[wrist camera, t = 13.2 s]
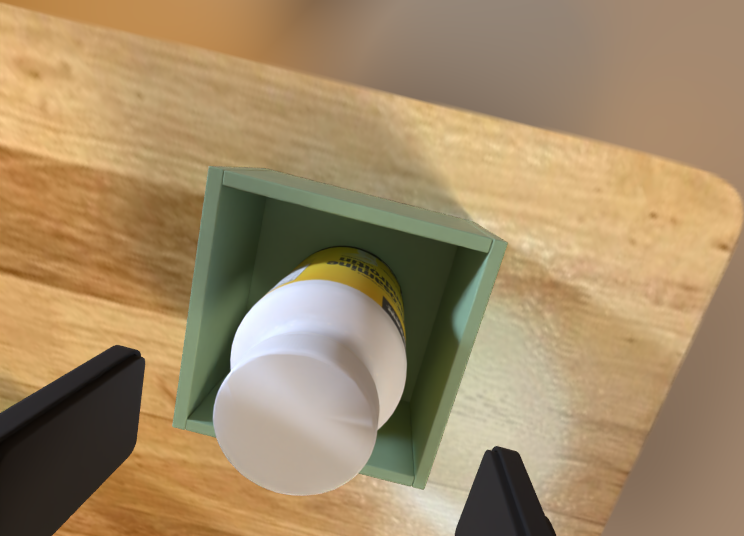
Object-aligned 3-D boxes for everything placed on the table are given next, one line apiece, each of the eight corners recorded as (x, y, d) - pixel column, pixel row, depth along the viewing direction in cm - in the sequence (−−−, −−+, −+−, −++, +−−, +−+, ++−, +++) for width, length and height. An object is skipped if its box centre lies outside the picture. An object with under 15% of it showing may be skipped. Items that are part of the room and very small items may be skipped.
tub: (474, 221, 21) (508, 242, 15) (416, 407, 24) (424, 491, 18) (263, 167, 21) (208, 165, 15) (230, 360, 24) (171, 427, 18)
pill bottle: (420, 329, 22) (445, 489, 11) (317, 366, 23) (245, 548, 12) (376, 224, 21) (355, 283, 10) (269, 267, 22) (138, 366, 11)
